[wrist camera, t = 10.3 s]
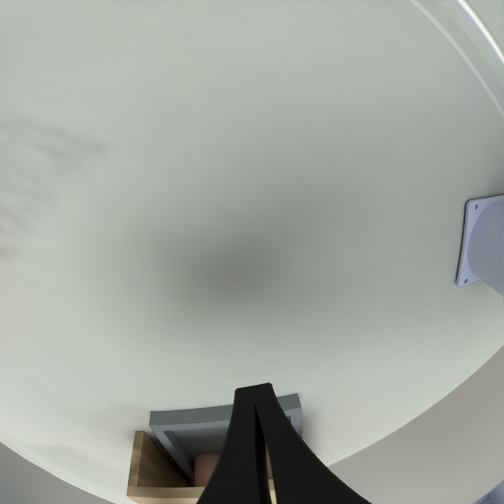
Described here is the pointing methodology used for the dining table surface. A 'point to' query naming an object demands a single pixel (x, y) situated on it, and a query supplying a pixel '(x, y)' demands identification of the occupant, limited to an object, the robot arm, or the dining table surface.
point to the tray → (206, 430)
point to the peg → (204, 467)
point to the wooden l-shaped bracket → (161, 477)
